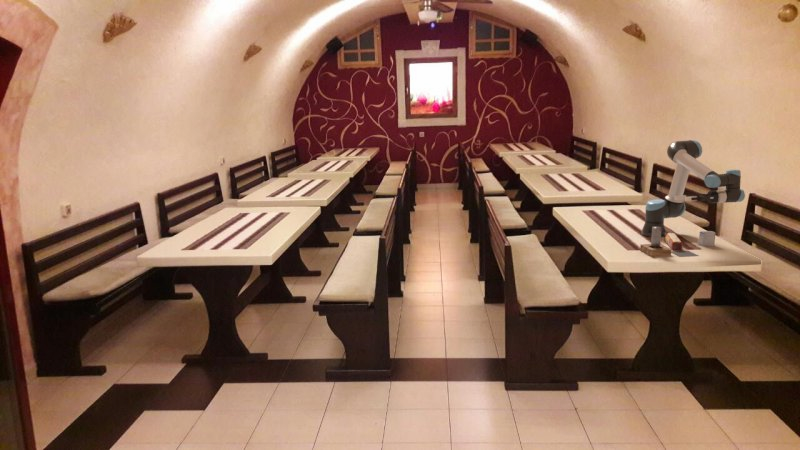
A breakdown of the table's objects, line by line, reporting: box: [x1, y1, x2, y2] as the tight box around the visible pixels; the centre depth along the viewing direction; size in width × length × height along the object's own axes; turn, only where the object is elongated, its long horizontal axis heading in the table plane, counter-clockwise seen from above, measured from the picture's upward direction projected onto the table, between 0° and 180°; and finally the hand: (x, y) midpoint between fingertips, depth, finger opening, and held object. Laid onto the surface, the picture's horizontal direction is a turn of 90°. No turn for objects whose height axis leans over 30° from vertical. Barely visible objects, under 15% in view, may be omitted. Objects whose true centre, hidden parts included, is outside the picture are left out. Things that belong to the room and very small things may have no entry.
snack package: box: [664, 232, 683, 251], centre depth 360 cm, size 21×7×7 cm, turn 166°
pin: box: [650, 227, 662, 248], centre depth 346 cm, size 5×5×16 cm
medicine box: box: [698, 230, 717, 247], centre depth 361 cm, size 8×4×9 cm, turn 92°
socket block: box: [639, 243, 672, 258], centre depth 347 cm, size 14×12×4 cm
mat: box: [671, 250, 699, 258], centre depth 344 cm, size 12×12×1 cm
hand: (680, 198), depth 345 cm, fingers open, 13 cm apart
